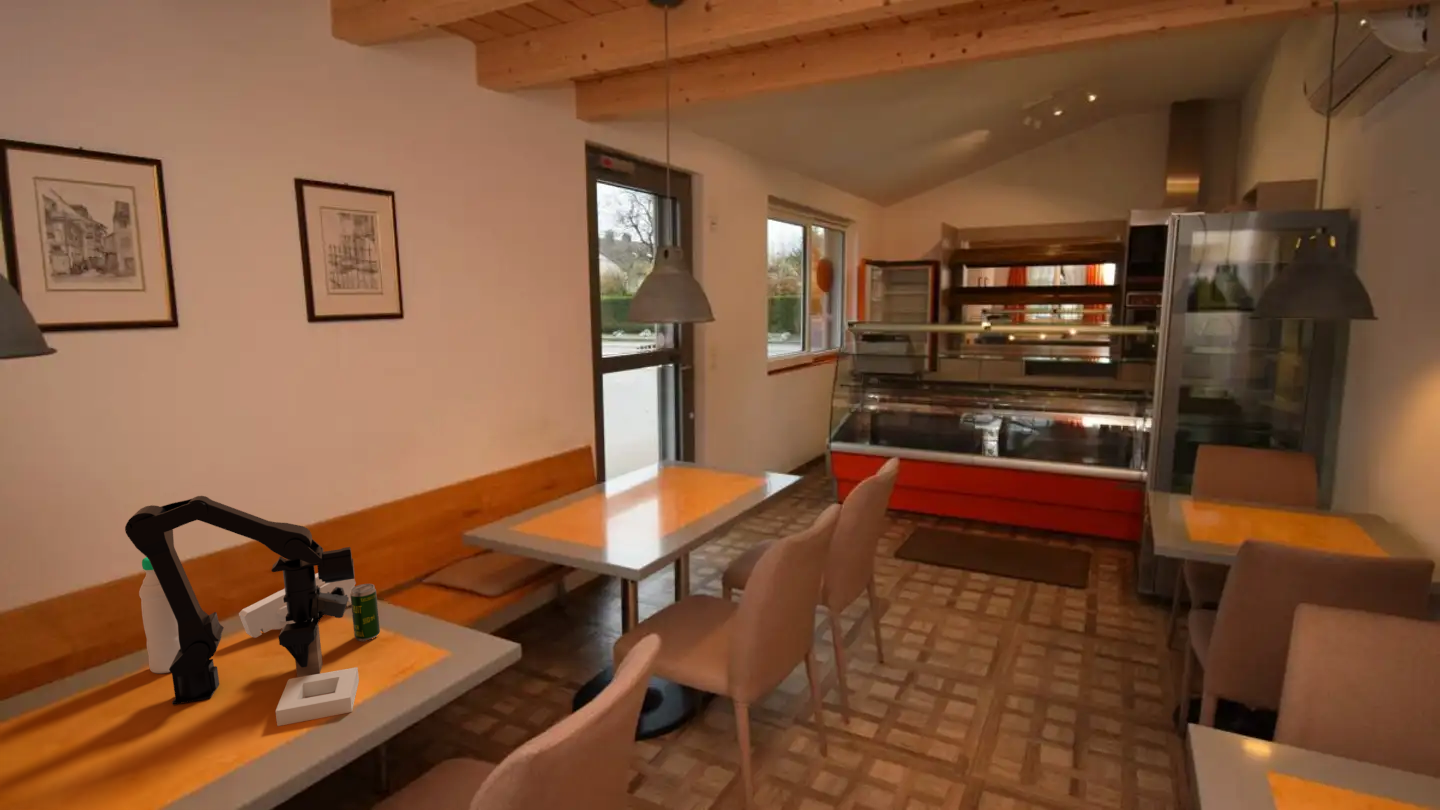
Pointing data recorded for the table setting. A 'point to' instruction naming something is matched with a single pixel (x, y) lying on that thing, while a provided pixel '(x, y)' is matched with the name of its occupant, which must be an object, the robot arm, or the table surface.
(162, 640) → the water bottle
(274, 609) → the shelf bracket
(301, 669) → the walnut post
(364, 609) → the beer can
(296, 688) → the well block
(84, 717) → the table surface
